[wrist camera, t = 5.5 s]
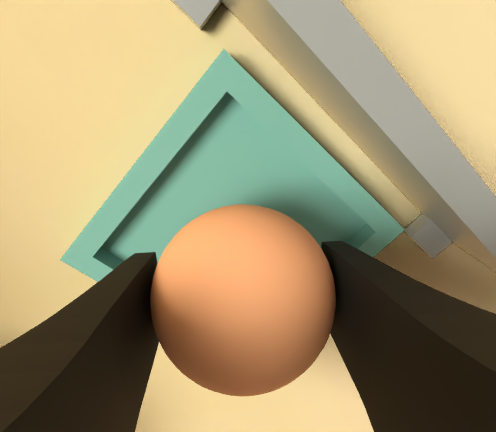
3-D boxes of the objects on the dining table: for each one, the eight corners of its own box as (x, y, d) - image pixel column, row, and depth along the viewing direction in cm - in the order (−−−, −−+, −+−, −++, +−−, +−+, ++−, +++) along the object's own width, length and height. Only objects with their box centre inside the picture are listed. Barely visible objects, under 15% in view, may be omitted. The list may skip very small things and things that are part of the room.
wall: (482, 202, 13) (586, 250, 9) (424, 251, 14) (499, 313, 10) (224, -112, 8) (228, -261, 5) (157, -13, 9) (116, -77, 5)
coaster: (390, 217, 13) (405, 229, 12) (245, 349, 15) (247, 368, 14) (223, 52, 10) (223, 49, 9) (72, 244, 12) (59, 259, 11)
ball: (332, 227, 11) (419, 329, 7) (254, 324, 12) (280, 464, 8) (212, 151, 10) (216, 216, 5) (137, 271, 11) (87, 408, 6)
